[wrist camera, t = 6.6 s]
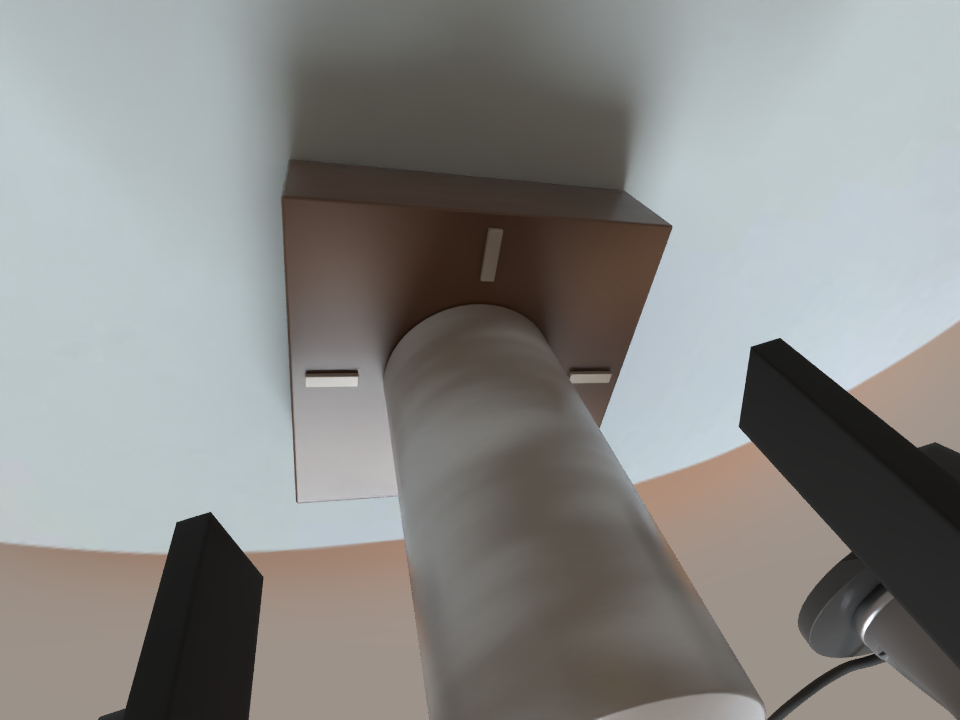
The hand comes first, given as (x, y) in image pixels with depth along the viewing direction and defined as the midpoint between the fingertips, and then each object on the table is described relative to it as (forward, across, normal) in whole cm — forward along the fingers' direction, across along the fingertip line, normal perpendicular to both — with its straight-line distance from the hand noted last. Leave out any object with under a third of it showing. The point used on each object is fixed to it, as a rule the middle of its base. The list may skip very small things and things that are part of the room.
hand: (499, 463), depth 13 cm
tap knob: (+4, 0, 0) cm, 4 cm away
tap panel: (+7, 0, 0) cm, 7 cm away
